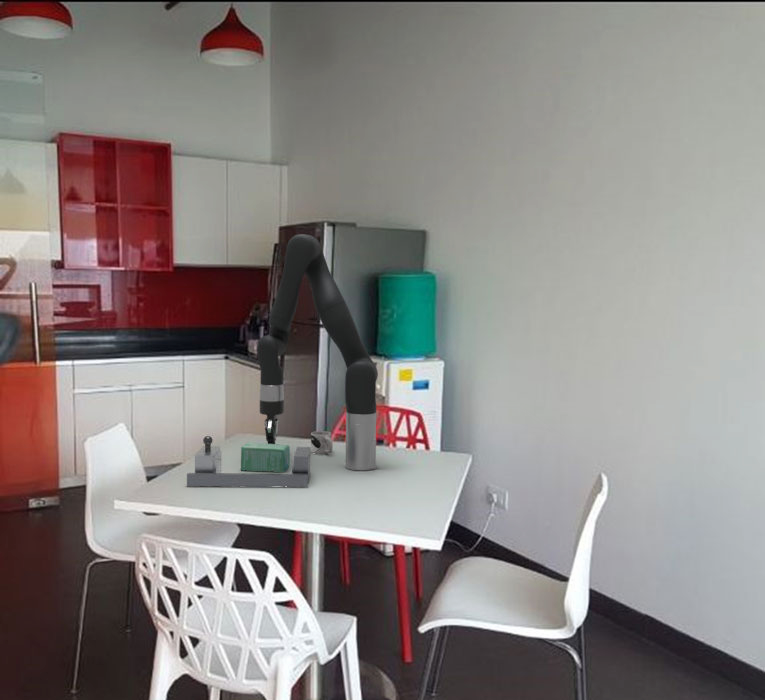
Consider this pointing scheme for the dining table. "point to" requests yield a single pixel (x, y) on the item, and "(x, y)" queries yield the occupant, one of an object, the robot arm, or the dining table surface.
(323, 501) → the dining table surface
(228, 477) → the vise
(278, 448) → the box
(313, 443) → the mug
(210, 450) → the sliding jaw
